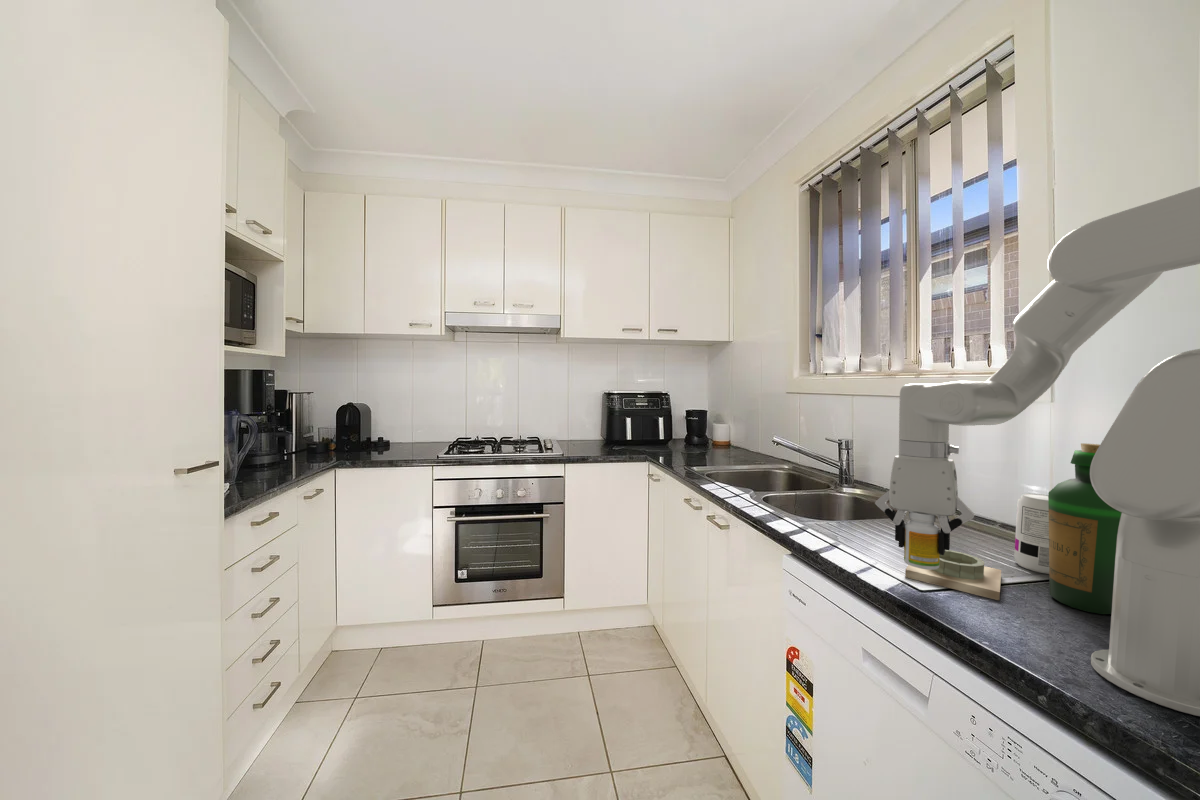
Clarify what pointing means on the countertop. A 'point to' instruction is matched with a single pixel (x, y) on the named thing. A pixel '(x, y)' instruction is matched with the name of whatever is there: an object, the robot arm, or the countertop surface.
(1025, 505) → the supplement can
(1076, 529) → the bottle
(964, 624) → the countertop surface
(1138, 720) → the countertop surface
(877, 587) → the countertop surface
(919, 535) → the supplement bottle
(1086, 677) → the countertop surface
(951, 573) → the collar holder
